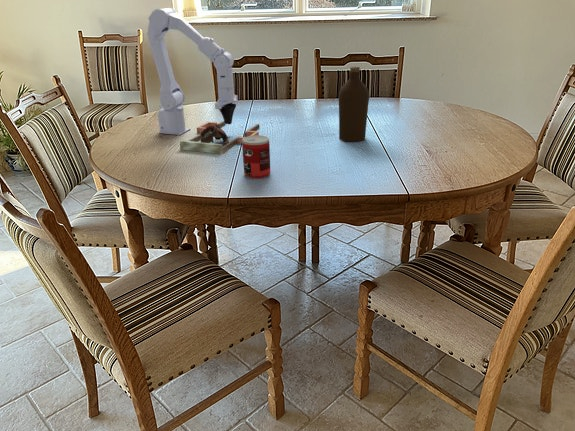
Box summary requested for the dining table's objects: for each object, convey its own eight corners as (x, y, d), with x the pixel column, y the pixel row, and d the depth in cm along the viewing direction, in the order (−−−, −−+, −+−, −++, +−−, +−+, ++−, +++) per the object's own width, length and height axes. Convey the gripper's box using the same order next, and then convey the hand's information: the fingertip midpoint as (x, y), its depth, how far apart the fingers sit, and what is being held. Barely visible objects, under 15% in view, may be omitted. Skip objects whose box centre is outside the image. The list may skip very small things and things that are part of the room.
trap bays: (187, 138, 180) (187, 132, 179) (208, 126, 193) (207, 121, 193) (248, 144, 172) (248, 138, 171) (266, 131, 185) (265, 126, 185)
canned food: (244, 170, 149) (241, 135, 144) (269, 169, 149) (268, 134, 144) (244, 179, 142) (241, 143, 137) (271, 178, 142) (269, 142, 138)
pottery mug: (231, 150, 168) (218, 132, 163) (208, 161, 171) (194, 144, 166) (232, 132, 177) (220, 114, 172) (210, 142, 180) (197, 125, 175)
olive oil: (345, 144, 170) (348, 71, 159) (332, 136, 179) (334, 66, 168) (372, 140, 173) (376, 68, 162) (358, 132, 182) (361, 63, 171)
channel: (180, 149, 168) (179, 141, 167) (222, 124, 195) (222, 117, 194) (221, 153, 163) (220, 145, 162) (259, 127, 190) (259, 120, 189)
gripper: (226, 92, 169) (229, 129, 175) (244, 84, 181) (246, 119, 187) (208, 90, 171) (211, 128, 177) (227, 82, 183) (229, 118, 189)
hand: (228, 123), depth 182 cm, fingers closed
